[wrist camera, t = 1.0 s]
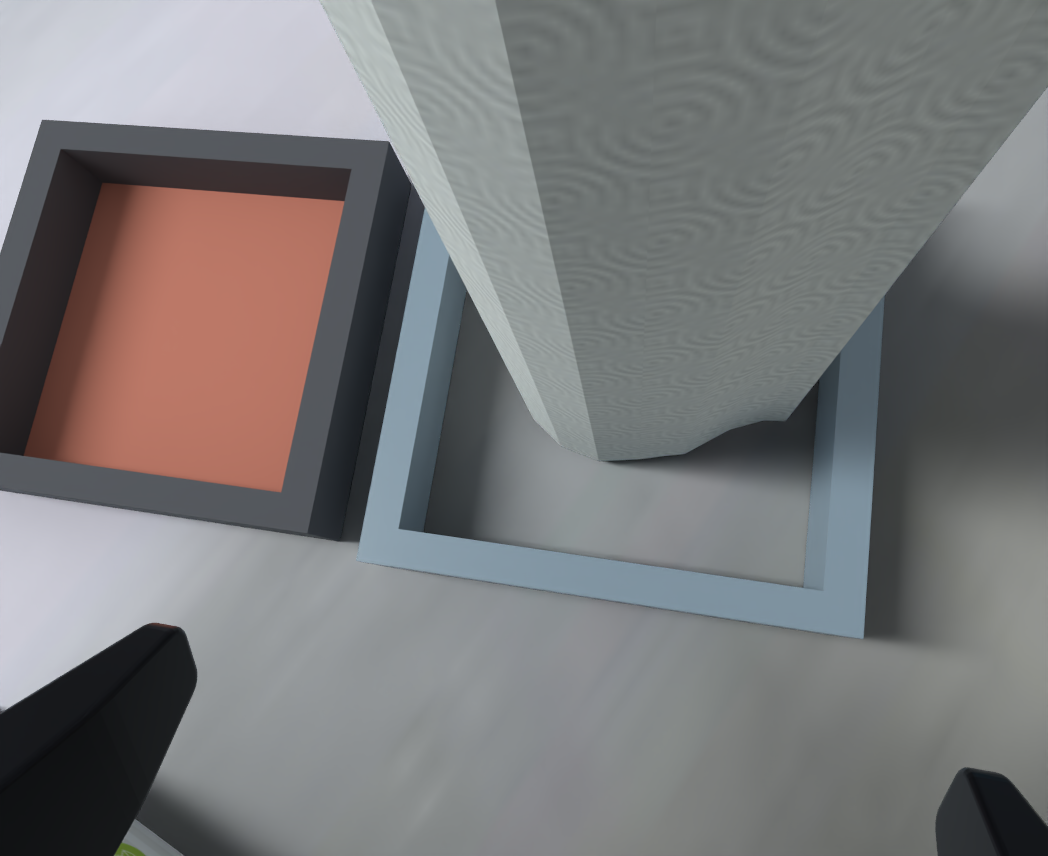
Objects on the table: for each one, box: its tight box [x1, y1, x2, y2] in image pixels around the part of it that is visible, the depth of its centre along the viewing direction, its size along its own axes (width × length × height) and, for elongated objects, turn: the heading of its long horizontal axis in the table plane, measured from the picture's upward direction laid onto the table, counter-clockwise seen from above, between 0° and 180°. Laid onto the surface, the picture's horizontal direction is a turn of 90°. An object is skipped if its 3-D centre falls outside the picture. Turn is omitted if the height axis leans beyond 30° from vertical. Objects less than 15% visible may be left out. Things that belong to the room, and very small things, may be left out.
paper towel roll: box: [319, 0, 1048, 461], centre depth 14 cm, size 7×6×21 cm
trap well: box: [0, 120, 411, 541], centre depth 25 cm, size 12×12×2 cm
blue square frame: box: [356, 208, 885, 639], centre depth 23 cm, size 13×13×2 cm
